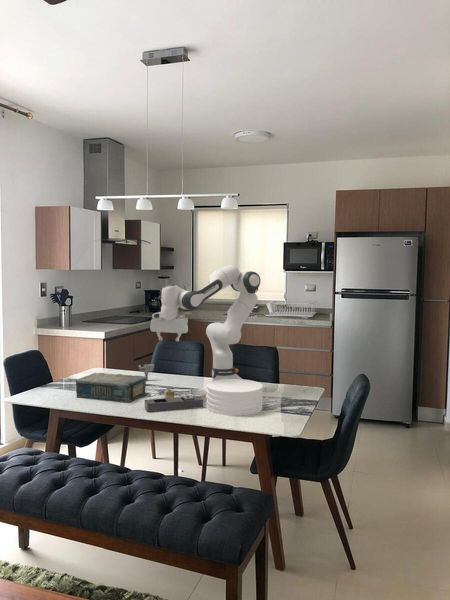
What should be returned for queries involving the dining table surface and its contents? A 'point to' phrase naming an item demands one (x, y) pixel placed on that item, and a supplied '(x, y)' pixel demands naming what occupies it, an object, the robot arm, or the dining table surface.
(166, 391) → the wooden cube with knob
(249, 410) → the plate stack
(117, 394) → the metal box
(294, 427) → the dining table surface
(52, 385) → the dining table surface
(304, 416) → the dining table surface
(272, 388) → the dining table surface
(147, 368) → the mechanical component
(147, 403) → the rail
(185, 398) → the grey knobbed square block
